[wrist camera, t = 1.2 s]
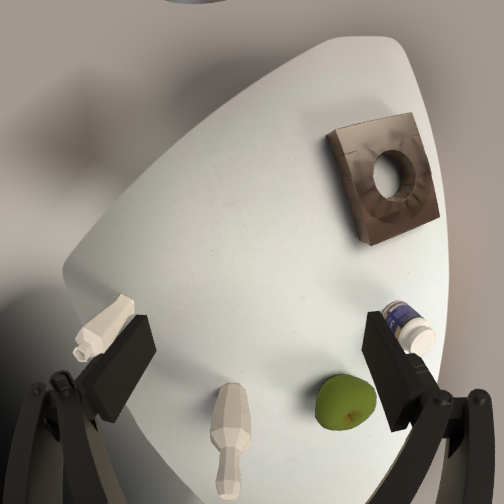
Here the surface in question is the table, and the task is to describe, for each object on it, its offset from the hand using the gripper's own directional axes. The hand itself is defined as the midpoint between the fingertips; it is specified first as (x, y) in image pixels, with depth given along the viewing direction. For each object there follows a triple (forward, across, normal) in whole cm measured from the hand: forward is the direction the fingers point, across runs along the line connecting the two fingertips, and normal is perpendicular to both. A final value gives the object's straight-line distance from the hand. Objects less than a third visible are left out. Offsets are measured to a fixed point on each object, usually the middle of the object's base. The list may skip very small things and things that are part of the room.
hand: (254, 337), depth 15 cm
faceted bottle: (+22, -7, -28) cm, 36 cm away
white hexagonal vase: (+21, -23, -10) cm, 33 cm away
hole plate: (+26, +17, +8) cm, 33 cm away
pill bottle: (+26, +21, -15) cm, 36 cm away
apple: (+24, +12, -28) cm, 39 cm away
